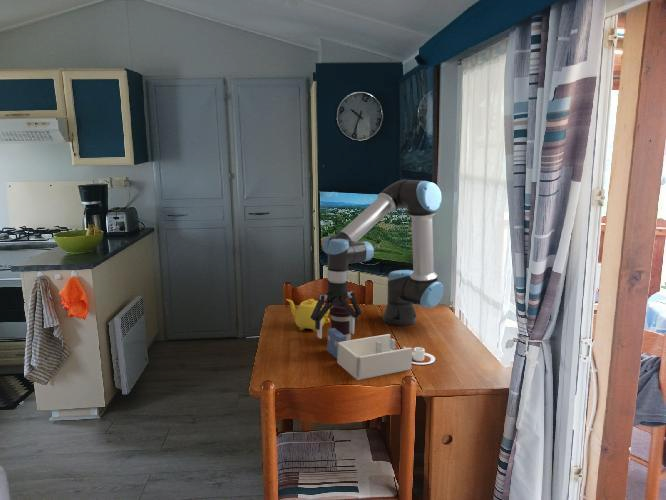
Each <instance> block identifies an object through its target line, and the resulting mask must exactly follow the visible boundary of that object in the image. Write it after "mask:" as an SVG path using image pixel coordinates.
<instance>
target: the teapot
mask: <svg viewBox="0 0 666 500" xmlns="http://www.w3.org/2000/svg"><path fill="white" fill-rule="evenodd" d="M285 301H288V303H289V305H290V311H291V314H292V316H294V319H295V320H294V322H295V324H296V326H297V327H298V330H299V331H304V330H306V329H307V330H309V329H310V330H312V332H315V333H317V329H316V328H315V321H314V320H312V319H311V318H310V317H311V315H312V313H313V311H314V308H315V306H316V304H317V302H318V300H315V299H314V298H308V299H306V300H304V301H302V302H300V304H299V305H298V306H297V307H298V308H296V306H295V303H294V301H293V300H292V299H287V298H286V299H285ZM324 305H325V304H323V305H322V308H323V306H324ZM322 308H321V309H322ZM329 315H330V309H329V310H328V311H327V313H326V314H325V315H324V316H323V318H322V319H321V321H322V327H324V326H325V324H329V323H331V318H329V317H328V316H329Z"/></svg>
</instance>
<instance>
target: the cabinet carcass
mask: <svg viewBox="0 0 666 500" xmlns="http://www.w3.org/2000/svg"><path fill="white" fill-rule="evenodd" d="M396 344H397V343H396V339H394V338H391V334H390V333H387V334H382V335H375V336H369V337H368V336H367V337H362V338H355V339H350V340H349V341H343V342H338V343H337V359H336V362H337V364H338V365H339V366H341V368H343V369H344V370H345V371H346V372H347V373H349V375H351V376H352V377H353V378H354V379H355V380H357V381H360V380H365V379H369V378H370V379H371V378H374V377H379V376H384V375H389V374H394V373H399V372H406V371H410V370H412V369H413V368H412V364H413V363H412V362H413V355H412V352H413V348H412V347H407V346H402V348H401V349H396Z"/></svg>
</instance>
